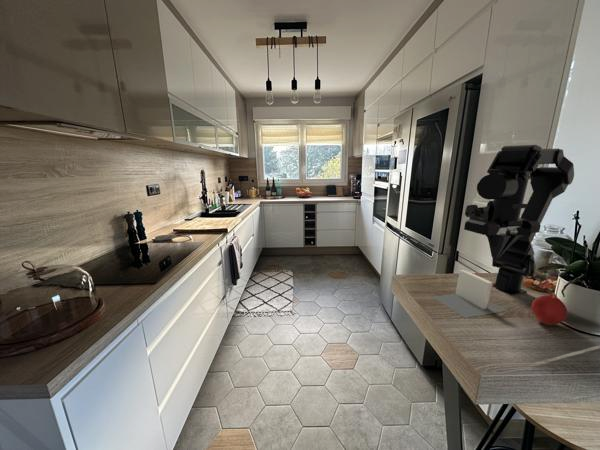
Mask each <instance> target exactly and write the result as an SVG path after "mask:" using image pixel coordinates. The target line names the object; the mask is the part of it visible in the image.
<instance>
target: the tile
mask: <svg viewBox="0 0 600 450" xmlns="http://www.w3.org/2000/svg"><path fill="white" fill-rule="evenodd" d="M458 274H459V275H458V279H457V283H456V289H455V293H454V294H457V295H459V296H461V297H462V298H464V299H466V300H468V301H469V302H471V303H473V304H475V305H477V306H478V307H480V308H482V309H486V308H488V305H489V301H490V300H491V295H492V291H493V288H494V287H493V283H494V282H493V281H491V280H489V279H487V278H484V277H482V276H479V275H477V274H474V273H473V272H470V271H468V270H466V269H460V270H459V273H458Z"/></svg>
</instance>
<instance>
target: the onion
mask: <svg viewBox="0 0 600 450" xmlns="http://www.w3.org/2000/svg"><path fill="white" fill-rule="evenodd" d="M567 308H568V307H567V306H566V305H565V303H564V302H563V301H562V300H561V299H560V298H559V297H558V296H557V294H556V293H555V292H550V293H548V294H547V295H541V296H538V297H537V298H535V299H534V300H533V301H532V304H531V309H530V310H531V312H532V314H533V315H534V317H535V318H537V320H538V321H539V322H540V323H541V324H542V325H545V326H553V325H558V324H561V323H563V322H564V321H565V320H566V319H567V317H568V309H567Z"/></svg>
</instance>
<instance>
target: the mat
mask: <svg viewBox="0 0 600 450" xmlns="http://www.w3.org/2000/svg"><path fill="white" fill-rule="evenodd" d="M431 298H432V299H434V300H436V301H437V302H439V303H440V304H442V305H443V306H445V307H446V308H448V309H450V310H451V311H452V312H454V313H456V314H458V315H459V316H461V317H462V318H463V319H467V318H475V317H479V316H484V315H486V316H487V315H493V314H496V313H502V312H507V311H509V310H508V309H506V308H504V307H502V306H500V305H499V304H497V303H495V302H493V301H492V300H491V301H490V300H489V305H488V308H486V309H482V308H480V307H478V306H477V305H475V304H473V303H471V302H469V301H468V300H466V299H464V298H462V297H461V296H459V295H457V294H455V293H451V294H443V295H436V296H432V297H431Z"/></svg>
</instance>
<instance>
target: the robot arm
mask: <svg viewBox="0 0 600 450" xmlns="http://www.w3.org/2000/svg"><path fill="white" fill-rule="evenodd" d="M564 155H565V153H564V150H563V149H560V148H542V147H541V146H540V145H537V144H524V145H523V144H521V145H518V144H517V145H504V146H503V147H501V149H500V150H499V151H498V152H497V153H496V155H495V157H494V159H493V161H492V162H491V163H490V165H489V167H488V169H487V170H486V173H487V174H486V175H484V176H483V177H482V178H481V179H479V181H478V183H477V184H476V191H477V193H478V195H479V196H480V197H481V198H483V199H484V200H488V201H487V204H486V206H483V207H482V206H481V207H480V206H478V204H469V205H466V208H465V211H464V212H465V213H464V215H465V217H466V218H468V219H467V220H465V221H464V227H463V230H465V231H468V232H473V233H476V234H479V235H483V236H485V237H486V238H487V241H488V245H489V250H490V251H489V252H490V255H491V258H492V267H493V268H498V271H497V274H496V279H495V282H493V287H492V288H495V289H498V290H499V291H501V292H502V291H503V292H504V293H506V294H508V295H513V296H514V295H520V294H527V293H528V291H527V290H525V289H522V288H523V283H524V281H525V280H524V279H525V277H527V278H528V277H532V278H533V277H534V276H535V273H536V269H537V265H536V259H535V256H534V255H535V251H534V247H533V244H532V242H533V240H534V238H535V236H536V234H537V233H540V230H541V224H542V222H543V220H544V218H545V215H546V214H547V211H548V209H549V207H550V205H551V204H552V201H553V199H555V198H556V197H558V196H560V195H562V194H563V193H566V192H565V191H566V190H567V188H568V186H569V185H571V184H572V183H573V181H574V177H575V168H574V167H575V166H574V163H573V162H572V161H571V160H569V159H568V158H567V157H566V156H564ZM539 165H555V166H549V167H547V166H540V167H539ZM529 180H530V183H529ZM528 184H530V186H531V189H532V193H531V195H530V197H529V199H528V202H526V203H524V199H525V196H526V191H527V189H528V188H527V186H528ZM522 209H523V212H522ZM521 212H522V213H521Z"/></svg>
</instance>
